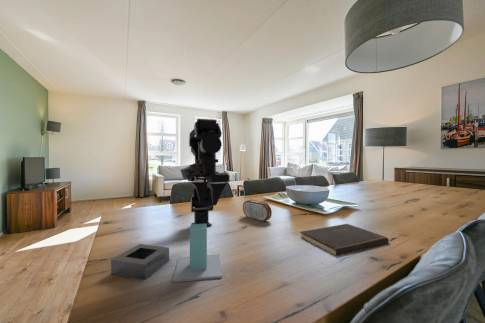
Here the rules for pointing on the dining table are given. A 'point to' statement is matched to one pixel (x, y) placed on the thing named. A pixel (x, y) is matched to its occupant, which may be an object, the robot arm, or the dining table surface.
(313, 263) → the dining table surface
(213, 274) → the mat
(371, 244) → the hardcover book
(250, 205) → the portable speaker
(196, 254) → the peg
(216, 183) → the robot arm
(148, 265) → the socket block
